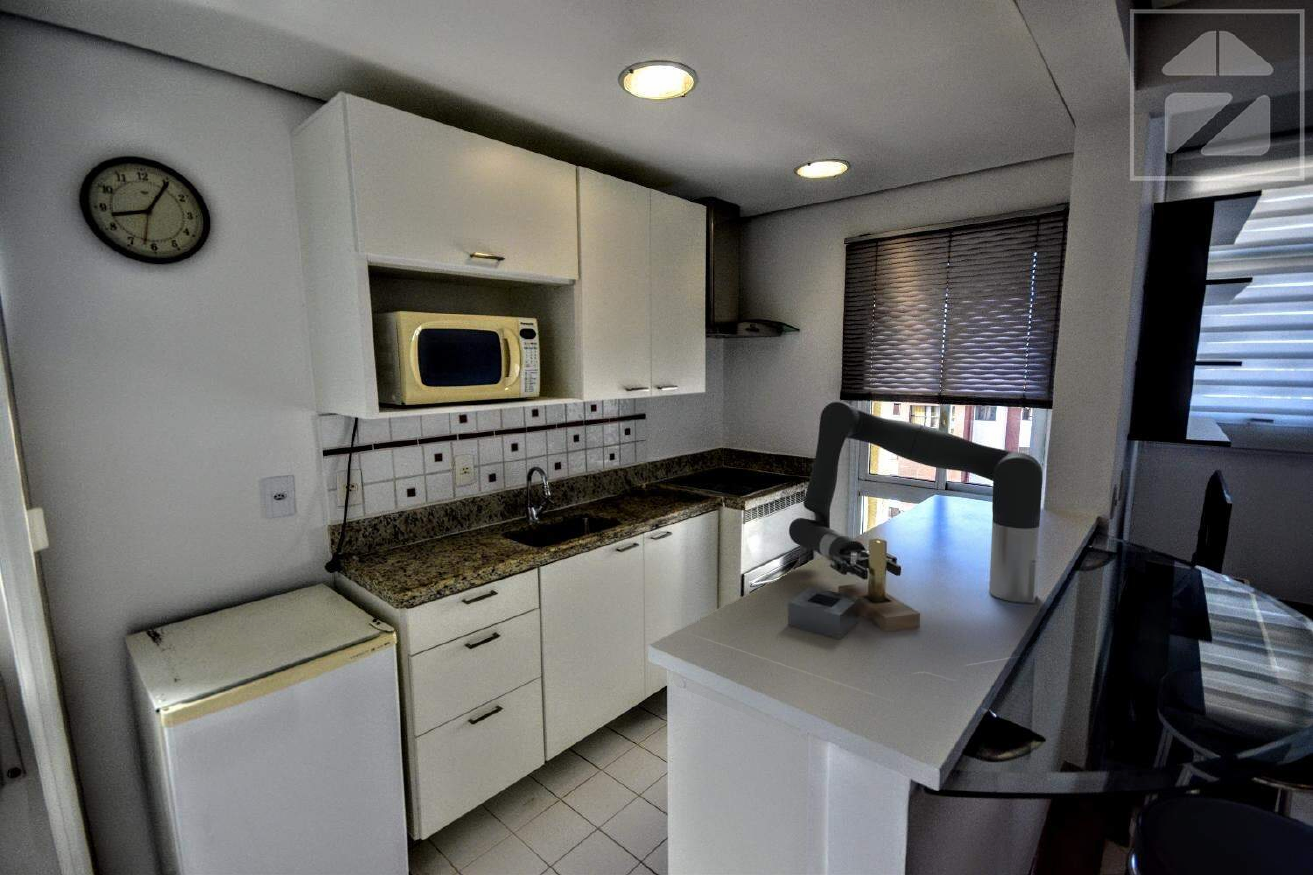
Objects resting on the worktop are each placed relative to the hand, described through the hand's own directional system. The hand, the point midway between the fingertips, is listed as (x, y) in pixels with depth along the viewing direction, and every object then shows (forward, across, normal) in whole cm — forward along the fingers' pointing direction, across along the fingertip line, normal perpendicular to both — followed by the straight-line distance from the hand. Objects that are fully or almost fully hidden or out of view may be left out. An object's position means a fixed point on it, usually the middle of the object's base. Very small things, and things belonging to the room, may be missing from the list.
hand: (883, 573), depth 123 cm
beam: (-2, 0, +10) cm, 10 cm away
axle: (-2, 0, +10) cm, 10 cm away
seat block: (0, -14, +10) cm, 17 cm away
